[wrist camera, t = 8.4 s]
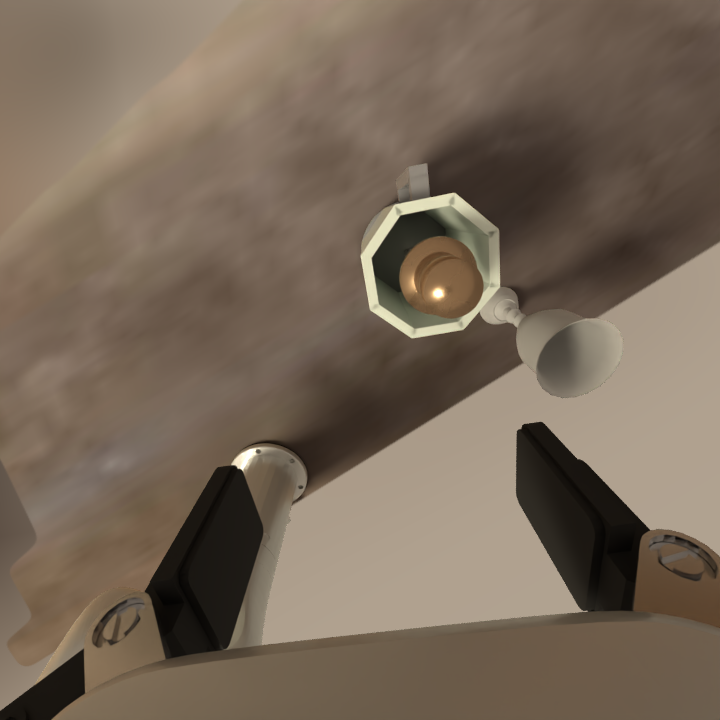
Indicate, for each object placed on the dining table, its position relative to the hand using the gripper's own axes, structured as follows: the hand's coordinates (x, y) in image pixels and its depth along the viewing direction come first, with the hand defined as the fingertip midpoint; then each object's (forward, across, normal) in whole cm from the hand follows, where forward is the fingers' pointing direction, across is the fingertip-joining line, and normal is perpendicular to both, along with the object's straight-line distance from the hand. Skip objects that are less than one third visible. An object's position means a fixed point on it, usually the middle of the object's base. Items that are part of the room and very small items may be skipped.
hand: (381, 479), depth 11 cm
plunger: (+33, -6, -4) cm, 34 cm away
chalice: (+35, -17, +5) cm, 39 cm away
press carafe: (+35, -6, -4) cm, 35 cm away
